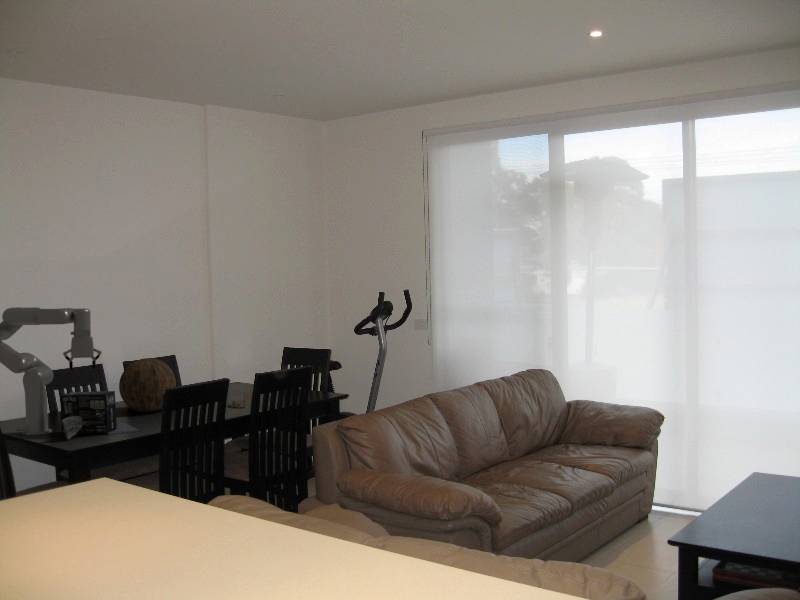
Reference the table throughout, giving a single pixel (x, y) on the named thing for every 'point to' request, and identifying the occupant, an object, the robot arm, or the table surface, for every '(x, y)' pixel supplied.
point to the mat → (123, 429)
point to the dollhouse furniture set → (245, 401)
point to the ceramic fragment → (72, 425)
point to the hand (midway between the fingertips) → (82, 369)
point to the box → (90, 410)
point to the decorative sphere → (146, 384)
